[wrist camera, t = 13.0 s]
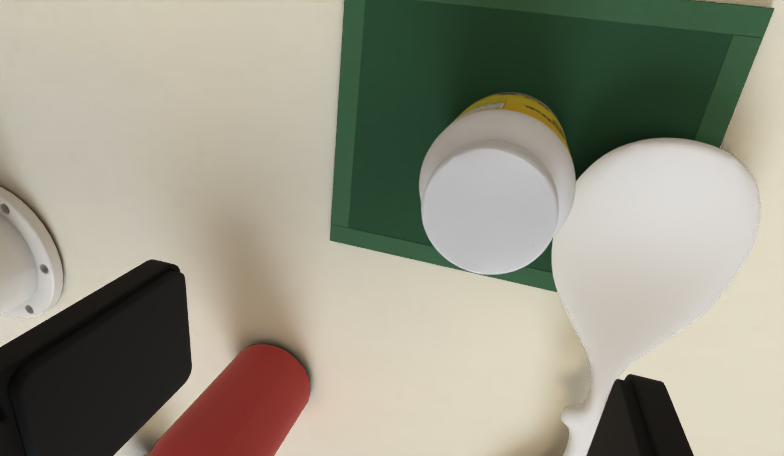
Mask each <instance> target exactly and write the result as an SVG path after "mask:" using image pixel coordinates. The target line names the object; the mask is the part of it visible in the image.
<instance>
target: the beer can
mask: <svg viewBox="0 0 784 456" xmlns="http://www.w3.org/2000/svg"><path fill="white" fill-rule="evenodd" d="M310 391H311V388H310V382H309V377H308V375H307V373H306V371H305V369H304V367H303V366H302V365H301V363H300V362H299V361H298V360H297V359H296V358H295V357H294V356H293V355H291V354H290V353H289V352H287V351H286V350H284V349H281V348H279V347H276V346H274V345H266V344H258V345H253V346H249V347H247V348H246V349H244V350H243V351H241V352H240V353H239V354H238V355H237V356H236V358H235V359H234V360H233V361H232V362H231V363H230V364H229V365H228V366H227V367H226V368H225V369H224V370H223V371H222V373H221V374H220V375H219V376H218V377H217V378H216V379H215V380H214V381H213V382H212V383H211V384H210V385H209V386H208V388H207V389H206V390H205V391H204V392H203V393H202V394H201V395H200V396H199V397H198V398H197V399H196V400H195V401H194V403H193V404H192V405H191V406H190V407H189V408H188V409H187V410H186V411H185V412H184V413H183V414H182V415H181V416H180V417H179V419H178V420H177V421H176V422H175V423H174V424H173V425H172V426H171V427H170V428H169V429H168V430H167V431H166V432H165V434H164V435H163V436H162V437H161V438H160V439H159V440H158V441H157V443H156V444H155V446H154V448H153V449H152V451H151V453H150V455H149V456H274V455H275V453H276V452H277V450H278V449H279V447H280V445H281V444H282V442H283V441H284V439H285V437H286V436H287V434H288V433H289V431H290V429H291V428H292V426H293V425H294V423H295V421H296V420H297V418H298V417H299V415H300V413H301V412H302V410H303V409H304V407H305V405H306V404H307V402H308V400H309V396H310Z"/></svg>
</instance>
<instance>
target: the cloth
mask: <svg viewBox="0 0 784 456" xmlns="http://www.w3.org/2000/svg"><path fill="white" fill-rule="evenodd" d="M773 11H774V8H766V7H755V6H745V5H734V4H724V3H714V2H703V1H693V0H345V1H344V18H343V34H342V51H341V68H340V84H339V101H338V117H337V134H336V150H335V167H334V183H333V200H332V216H331V233H330V240H331V241H335V242H339V243H344V244H348V245H353V246H357V247H361V248H366V249H370V250H375V251H379V252H383V253H388V254H392V255H397V256H401V257H405V258H410V259H414V260H418V261H423V262H427V263H432V264H436V265H440V266H445V267H449V268H454V269H458V270H462V271H467V270H465V269H462V268H460V267H458V266H456V265H454V264H453V263H451V262H450V261H448V260H447V259H445V258H444V257H443V256H442V255H441V254H440V253H439V252H438V251H437V250H436V248H435V247H434V246H433V244H432V243H431V241H430V240H429V238H428V236H427V234H426V231H425V229H424V226H423V222H422V214H421V199H420V193H419V178H420V172H421V167H422V164H423V161H424V158H425V156H426V154H427V152H428V150H429V149H430V147H431V145H432V144H433V142H434V141H435V140H436V138H437V137H438V136H439V135H440V134H441V133H442V132H443V131H444V130H445V129H446V128H447V127H448V126H449V125H450V124H451V123H452V122H453V121H454V120H455V119H456V118H457V117H458V116H459V115H460V114H461V113H462V112H463V111H464V110H466V109H467V108H468V107H469V106H470V105H472V104H473V103H475V102H476V101H478V100H480V99H481V98H484V97H486V96H489V95H492V94H497V93H504V92H515V93H521V94H525V95H528V96H531V97H533V98H535V99H537V100H539V101H541V102H542V103H543V104H545V105H546V106H547V107H548V108H549V109H550V110H551V111H552V112H553V113H554V114H555V116H556V117H557V119H558V120H559V122H560V124H561V126H562V128H563V131H564V134H565V138H566V141H567V145H568V148H569V152H570V155H571V157H572V161H573V164H574V170H575V178H576V181H577V180H578V179H579V177H580V176H581V175H582V174H583V173H584V172H585V171H586V170H587V169H588V168H589V167H590V166H591V165H592V164H593V163H594V162H596V161H597V160H598V159H600V158H601V157H602V156H604V155H605V154H607V153H609V152H610V151H612V150H614V149H616V148H618V147H621V146H624V145H626V144H629V143H633V142H637V141H640V140H645V139H652V138H680V139H688V140H694V141H699V142H702V143H706V144H709V145H713V146H715V147H717V148H719V147H720V145H721V142H722V140H723V137H724V135H725V132H726V130H727V127H728V125H729V122H730V119H731V117H732V114H733V112H734V109H735V107H736V104H737V102H738V99H739V97H740V94H741V92H742V89H743V87H744V84H745V82H746V79H747V77H748V74H749V71H750V69H751V66H752V64H753V61H754V59H755V56H756V54H757V51H758V49H759V46H760V44H761V41H762V38H763V36H764V34H765V31H766V29H767V26H768V23H769V21H770V18H771V16H772V13H773ZM552 242H553V238H552V240H551V242H550V243H549V245H548V246H547V248H546V249H545V250H544V251H543V253H542V254H541V255H540V256H539V257H538V258H536V259H535V260H534V261H532V262H531V263H530V264H528V265H526V266H525V267H523V268H520V269H518V270H515V271H512V272H509V273H504V274H494V275H486V274H480V275H484V276H489V277H493V278H498V279H502V280H506V281H511V282H515V283H519V284H524V285H528V286H533V287H537V288H541V289H546V290H550V291H555V292H557V289H556V286H555V282H554V278H553V272H552ZM467 272H470V271H467ZM471 273H474V272H471ZM476 274H479V273H476Z"/></svg>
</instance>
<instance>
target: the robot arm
mask: <svg viewBox="0 0 784 456" xmlns="http://www.w3.org/2000/svg"><path fill="white" fill-rule="evenodd" d="M62 288H63V270H62V264H61V260H60V257H59V254H58V251H57V248H56V246H55V244H54V242H53V240H52V238H51V236H50V234H49V233H48V231H47V230H46V228H45V226H44V225H43V223H42V222H41V221H40V220H39V218H38V217H37V216H36V215H35V213H34V212H33V211H32V210H31V209H30V208H29V207H28V206H27V205H26V204H25V203H24V202H23V201H21V200H20V199H19V198H17V197H16V196H15V195H13V194H12V193H11V192H9V191H7V190H5V189H3V188H2V187H0V315H1V314H3V313H4V314H6V315H9V316H13V317H18V318H31V317H35V316H38V315H40V314H42V313H43V312H45V311H47V310H49V309H50V308H51V307H53V306H54V305H55V304H56V302H57V301H58V299H59V297H60V295H61V291H62ZM191 369H192V362H191V349H190V336H189V323H188V310H187V297H186V284H185V277H184V275H183V274H182V273H180V269H179V268H178V266H176V265H174V264H170V263H166V262H162V261H158V260H148V261H146V262H144V263H143V264H141V265H139V266H138V267H136V268H134V269H133V270H131V271H129V272H127V273H126V274H124V275H122V276H121V277H119V278H117V279H116V280H114V281H112V282H110V283H109V284H107V285H105V286H104V287H102V288H100V289H99V290H97V291H95V292H93V293H92V294H90V295H88V296H87V297H85V298H83V299H82V300H80V301H78V302H76V303H75V304H73V305H71V306H70V307H68V308H66V309H65V310H63V311H61V312H59V313H58V314H56V315H54V316H53V317H51V318H49V319H48V320H46V321H44V322H42V323H41V324H39V325H37V326H36V327H34V328H32V329H31V330H29V331H27V332H25V333H24V334H22V335H20V336H19V337H17V338H15V339H14V340H12V341H10V342H8V343H7V344H5V345H3V346H2V347H0V456H113V455H114V454H115V453H116V452H117V451H118V450H119V449H120V448H121V447H122V446H123V445H124V444H125V443H126V442H127V441H128V440H129V439H130V438H131V437H132V436H133V435H134V434H135V433H136V432H137V431H138V430H139V429H140V428H141V427H142V426H143V425H144V424H145V423H146V422H147V421H148V420H149V419H150V418H151V417H152V416H153V415H154V414H155V413H156V412H157V411H158V410H159V409H160V408H161V407H162V406H163V405H164V404H165V403H166V402H167V401H168V400H169V399H170V398H171V397H172V396H173V395H174V394H175V393H176V392H177V391H178V390H179V389H180V388H181V387H182V386H183V385H184V383H185V382H186V381H187V380H188V378H189V376H190V373H191ZM586 456H694V455H693V453H692V450H691V448H690V445H689V443H688V441H687V438H686V436H685V433H684V431H683V428H682V426H681V423H680V421H679V418H678V416H677V413H676V411H675V409H674V406H673V404H672V401H671V399H670V396H669V394H668V391H667V389H666V387H665V385H664V383H663V382H661V381H657V380H653V379H649V378H644V377H640V376H636V375H632V374H629V375H628V376H627V377H626V378H625V380H620V379H616V380H615V381H614V383H613V386H612V388H611V391H610V394H609V396H608V399H607V402H606V404H605V407H604V410H603V412H602V415H601V418H600V420H599V423H598V426H597V428H596V431H595V434H594V437H593V439H592V442H591V445H590V447H589V450H588V453H587V455H586Z"/></svg>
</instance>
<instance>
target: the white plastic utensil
mask: <svg viewBox="0 0 784 456" xmlns="http://www.w3.org/2000/svg"><path fill="white" fill-rule="evenodd" d="M759 220H760V196H759V190H758V187H757V184H756V181H755V179H754V177H753V175H752V174H751V172H750V171H749V170H748V168H747V167H746V166H745V165H744V164H743V163H742V162H741V161H740V160H738V159H737V158H736V157H734V156H733V155H732V154H730V153H728V152H726V151H724V150H722V149H720V148H717V147H715V146H713V145H709V144H706V143H702V142H699V141H694V140H688V139H680V138H652V139H645V140H640V141H637V142H633V143H629V144H626V145H624V146H621V147H618V148H616V149H614V150H612V151H610V152H609V153H607V154H605V155H604V156H602V157H601V158H600V159H598V160H597V161H596V162H594V163H593V164H592V165H591V166H590V167H589V168H588V169H587V170H586V171H585V172H584V173H583V174H582V175H581V176H580V177H579V179H578V180H577V181H576V186H575V197H574V202H573V206H572V209H571V211H570V214H569V216H568V218H567V220H566V221H565V223H564V224H563V226H562V227H561V229H560V230H559V231H558V232H557V234H556V235H555V236H554V237H553V242H552V272H553V278H554V282H555V286H556V289H557V292H558V295H559V297H560V300H561V302H562V304H563V307H564V309H565V311H566V313H567V315H568V317H569V319H570V321H571V323H572V325H573V327H574V329H575V331H576V333H577V335H578V337H579V339H580V341H581V343H582V345H583V347H584V349H585V351H586V353H587V356H588V359H589V363H590V368H591V384H590V389H589V393H588V396H587V398H586V399H585V401H584V402H583V403H581V404H578V405H572V406H567V407H565V408H564V409H563V411H562V413H561V420H562V421H563V422H564V423H565V424H566V425H567V426H568V428H569V434H570V435H569V440H568V444H567V447H566V449H565V452H564V454H563V456H586V455H587V453H588V450H589V447H590V445H591V442H592V439H593V437H594V434H595V431H596V428H597V426H598V423H599V420H600V418H601V415H602V412H603V410H604V406H605V402H606V399H607V397H608V395H609V392H610V390H611V388H612V386H613V383H614V381H615V380H616V379H617V378H618V377H619V376H620V375H621V373H622V372H623V371H624V370H625V369H626V368H627V367H628V366H630V365H631V364H632V363H633V362H635V361H636V360H637V359H639V358H640V357H642V356H643V355H645V354H646V353H647V352H649V351H650V350H652V349H653V348H655V347H656V346H658V345H659V344H661V343H663V342H664V341H666V340H667V339H669V338H670V337H672V336H673V335H675V334H677V333H678V332H680V331H681V330H683V329H684V328H685V327H687V326H688V325H690V324H691V323H693V322H694V321H695V320H696V319H698V318H699V317H700V316H701V315H703V314H704V313H705V312H706V311H707V310H708V309H709V308H710V307H711V306H712V305H713V304H714V303H715V302H716V301H717V300H718V299H719V297H720V296H721V295H722V294H723V292H724V291H725V290H726V289H727V287H728V286H729V284H730V283H731V281H732V280H733V279H734V277H735V276H736V274H737V273H738V271H739V269H740V268H741V266H742V265H743V263H744V261H745V260H746V258H747V256H748V254H749V252H750V250H751V248H752V246H753V243H754V241H755V238H756V235H757V231H758V227H759Z"/></svg>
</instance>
